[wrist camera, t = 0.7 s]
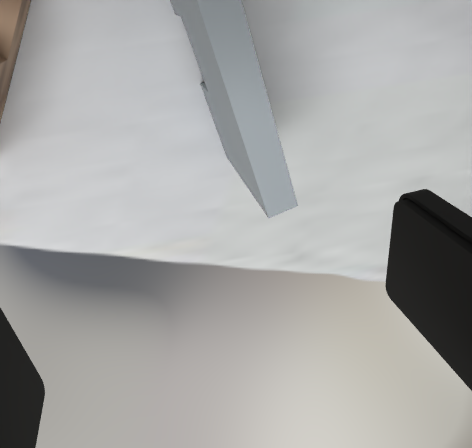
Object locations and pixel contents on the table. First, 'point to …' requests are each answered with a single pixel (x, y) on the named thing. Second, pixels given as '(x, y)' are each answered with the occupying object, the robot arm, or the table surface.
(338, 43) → the table surface
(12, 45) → the walnut board
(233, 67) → the grey panel
